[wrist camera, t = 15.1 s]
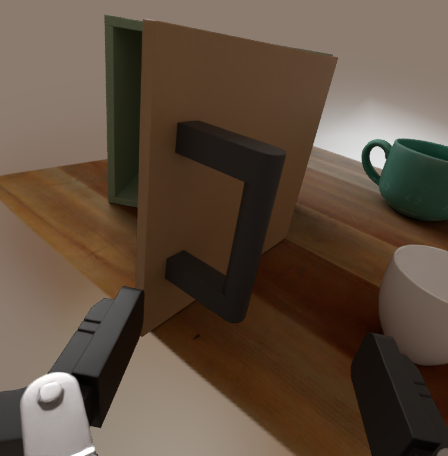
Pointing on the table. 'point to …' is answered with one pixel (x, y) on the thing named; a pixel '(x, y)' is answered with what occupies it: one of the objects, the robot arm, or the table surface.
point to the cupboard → (125, 106)
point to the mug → (412, 177)
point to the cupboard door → (218, 162)
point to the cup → (416, 303)
